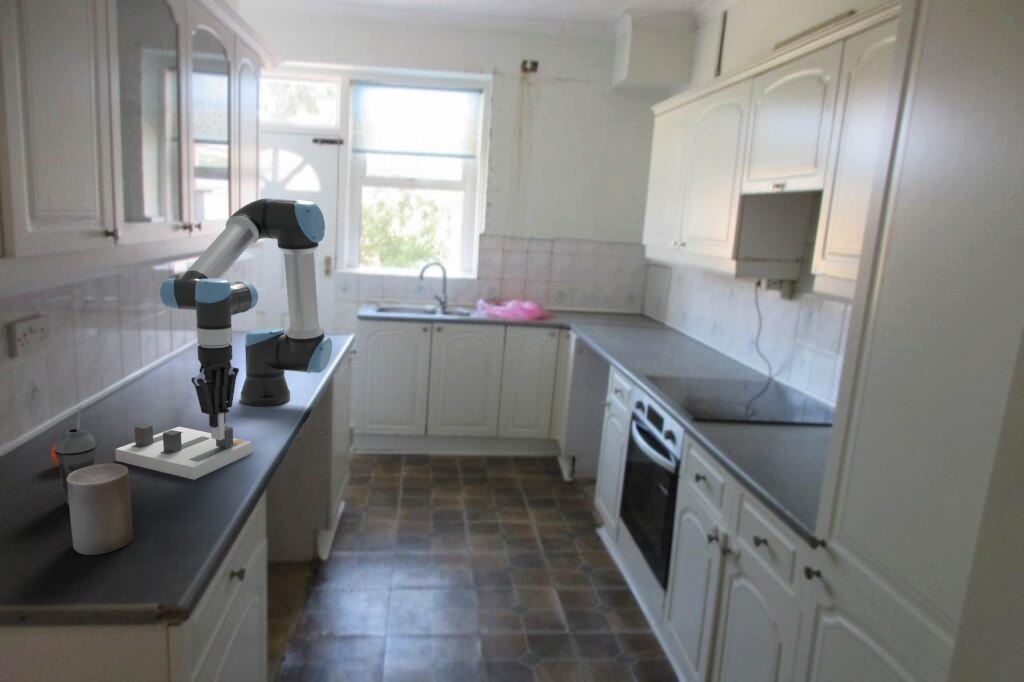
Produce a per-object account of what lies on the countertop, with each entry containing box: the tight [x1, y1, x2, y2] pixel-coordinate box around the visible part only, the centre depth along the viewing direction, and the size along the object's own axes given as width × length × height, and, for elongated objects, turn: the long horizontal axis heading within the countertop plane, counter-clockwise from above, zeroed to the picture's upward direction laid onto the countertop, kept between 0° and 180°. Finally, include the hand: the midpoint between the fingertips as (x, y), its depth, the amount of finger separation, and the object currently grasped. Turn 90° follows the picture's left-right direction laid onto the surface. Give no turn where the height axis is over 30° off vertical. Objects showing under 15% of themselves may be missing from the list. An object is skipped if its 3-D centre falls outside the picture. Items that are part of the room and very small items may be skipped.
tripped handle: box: [216, 425, 234, 448], centre depth 162 cm, size 2×3×4 cm
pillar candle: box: [66, 463, 135, 556], centre depth 120 cm, size 10×10×15 cm
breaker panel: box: [115, 423, 253, 481], centre depth 162 cm, size 19×24×8 cm
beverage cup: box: [54, 407, 98, 506], centre depth 135 cm, size 7×7×20 cm
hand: (218, 438), depth 160 cm, fingers closed
